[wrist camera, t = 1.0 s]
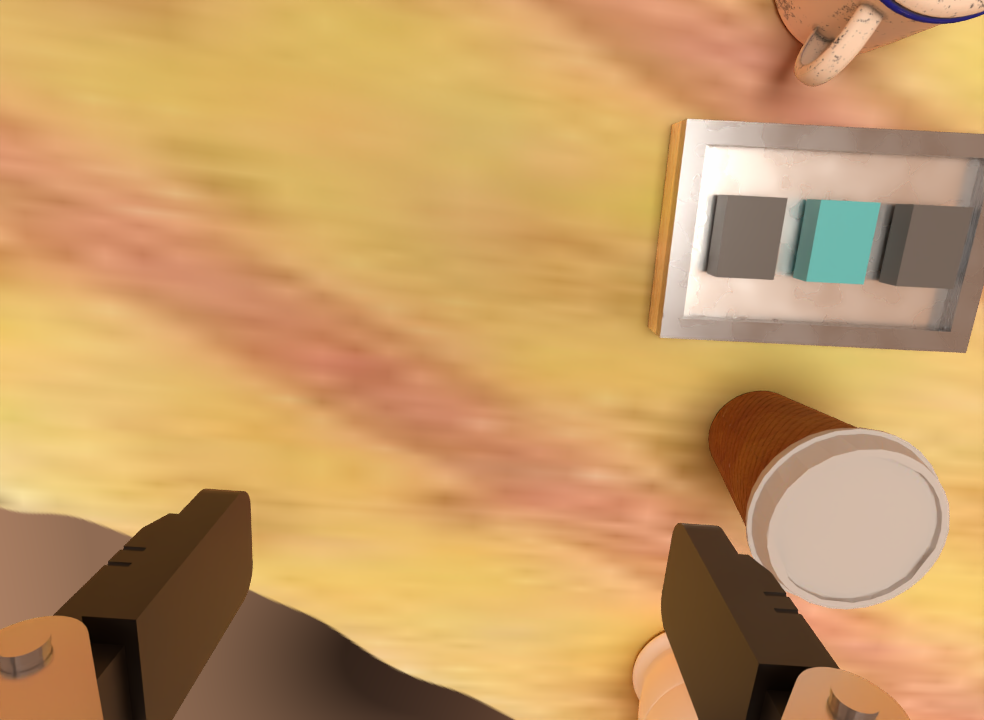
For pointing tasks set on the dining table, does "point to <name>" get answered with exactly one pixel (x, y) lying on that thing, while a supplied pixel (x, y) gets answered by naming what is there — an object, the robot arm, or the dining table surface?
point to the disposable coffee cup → (829, 500)
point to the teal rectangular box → (836, 241)
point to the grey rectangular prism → (746, 236)
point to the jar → (661, 684)
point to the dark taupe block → (925, 245)
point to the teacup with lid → (860, 28)
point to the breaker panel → (800, 176)
